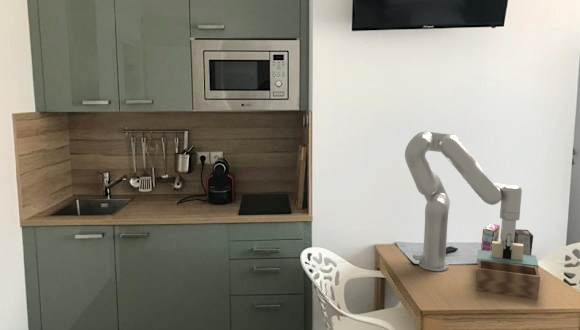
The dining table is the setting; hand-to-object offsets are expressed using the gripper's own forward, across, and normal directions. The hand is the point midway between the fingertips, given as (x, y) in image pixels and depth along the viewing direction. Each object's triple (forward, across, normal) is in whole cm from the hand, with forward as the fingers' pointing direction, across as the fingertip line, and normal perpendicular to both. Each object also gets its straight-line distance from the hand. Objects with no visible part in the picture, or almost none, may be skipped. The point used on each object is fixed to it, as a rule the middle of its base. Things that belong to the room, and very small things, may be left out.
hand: (506, 256), depth 211 cm
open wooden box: (+9, +14, 0) cm, 17 cm away
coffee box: (+9, -14, +7) cm, 18 cm away
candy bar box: (+9, -16, -6) cm, 19 cm away
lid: (+2, 0, 0) cm, 2 cm away
